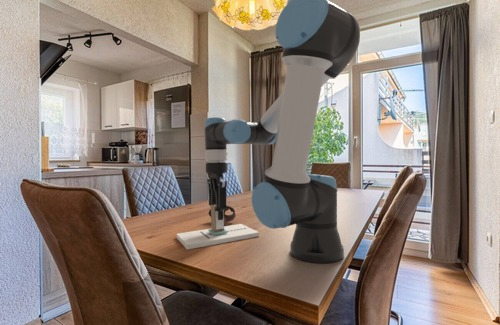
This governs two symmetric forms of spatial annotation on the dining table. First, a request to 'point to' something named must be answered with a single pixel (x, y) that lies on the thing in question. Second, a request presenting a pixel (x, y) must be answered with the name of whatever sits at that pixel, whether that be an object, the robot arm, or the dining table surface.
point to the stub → (213, 223)
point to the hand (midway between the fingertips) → (217, 227)
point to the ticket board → (215, 236)
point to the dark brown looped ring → (227, 217)
